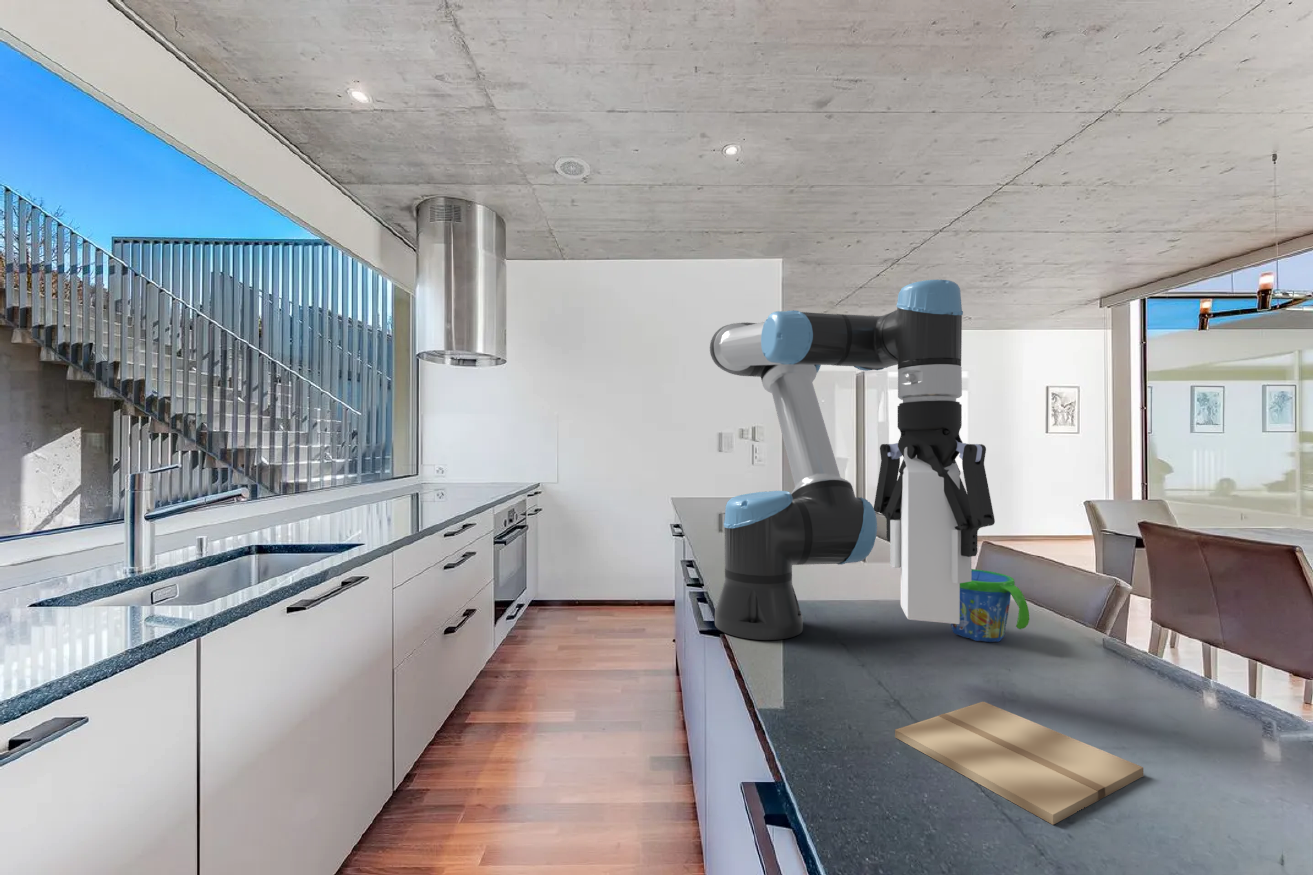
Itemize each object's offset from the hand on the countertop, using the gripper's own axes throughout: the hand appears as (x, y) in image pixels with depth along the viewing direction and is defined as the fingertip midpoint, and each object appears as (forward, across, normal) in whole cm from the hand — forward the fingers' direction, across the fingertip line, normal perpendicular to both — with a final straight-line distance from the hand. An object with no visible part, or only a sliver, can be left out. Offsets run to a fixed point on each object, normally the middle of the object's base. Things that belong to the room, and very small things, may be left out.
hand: (928, 573), depth 70 cm
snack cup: (+15, -9, +25) cm, 30 cm away
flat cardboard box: (+14, +15, -8) cm, 22 cm away
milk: (+6, 0, 0) cm, 6 cm away
